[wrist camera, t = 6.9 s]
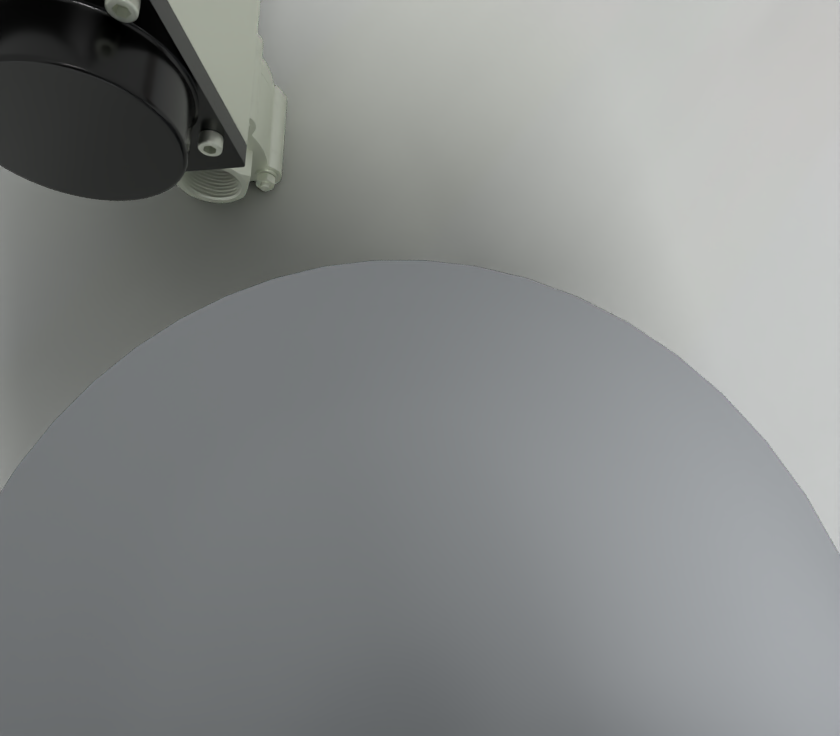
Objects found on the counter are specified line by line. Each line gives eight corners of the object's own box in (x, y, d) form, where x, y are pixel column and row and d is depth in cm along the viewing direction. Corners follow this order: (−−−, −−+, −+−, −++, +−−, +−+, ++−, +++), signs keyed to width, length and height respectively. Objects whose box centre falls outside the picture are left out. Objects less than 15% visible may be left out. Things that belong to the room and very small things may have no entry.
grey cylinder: (638, 725, 14) (1305, 1321, 2) (373, 803, 14) (-185, 1740, 2) (546, 462, 16) (672, 117, 4) (315, 531, 16) (-138, 363, 4)
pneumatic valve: (313, 12, 24) (155, -497, 13) (296, 298, 20) (50, -71, 9) (170, 26, 25) (-101, -451, 13) (128, 308, 21) (-304, -29, 10)
